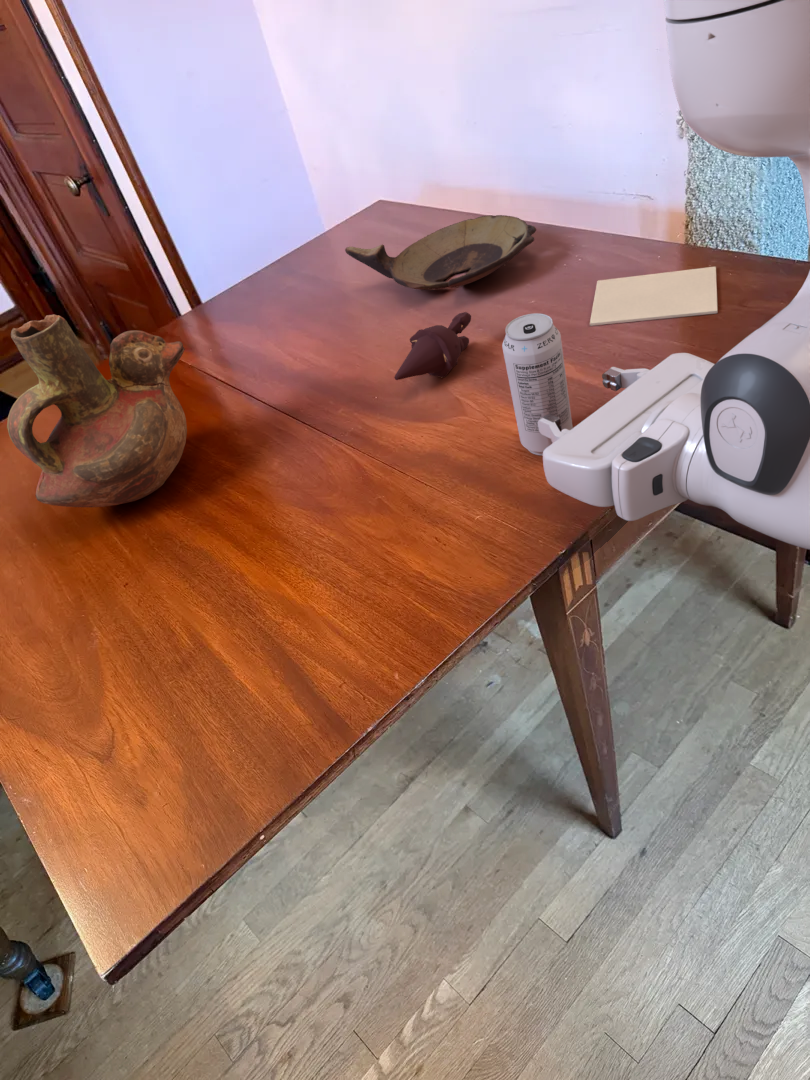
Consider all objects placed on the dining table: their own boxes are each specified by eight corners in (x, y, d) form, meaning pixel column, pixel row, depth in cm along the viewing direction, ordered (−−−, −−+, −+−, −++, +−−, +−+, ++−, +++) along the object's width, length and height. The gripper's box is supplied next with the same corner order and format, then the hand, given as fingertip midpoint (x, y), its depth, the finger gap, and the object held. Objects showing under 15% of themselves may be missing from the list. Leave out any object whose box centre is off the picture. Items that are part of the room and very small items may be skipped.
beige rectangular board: (715, 269, 103) (715, 266, 103) (717, 313, 96) (717, 310, 95) (597, 283, 109) (597, 280, 109) (589, 326, 101) (589, 323, 101)
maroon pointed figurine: (416, 367, 93) (491, 316, 100) (373, 344, 96) (449, 296, 103) (416, 411, 98) (487, 359, 105) (376, 387, 101) (447, 338, 108)
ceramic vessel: (256, 445, 102) (171, 273, 85) (92, 563, 92) (-40, 394, 76) (196, 412, 113) (110, 254, 96) (44, 514, 103) (-80, 357, 87)
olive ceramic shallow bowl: (497, 314, 110) (487, 264, 105) (343, 303, 127) (328, 260, 122) (561, 242, 122) (556, 195, 117) (412, 241, 138) (402, 200, 133)
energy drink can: (570, 421, 88) (554, 305, 78) (577, 452, 83) (562, 333, 73) (519, 431, 89) (497, 318, 79) (523, 463, 84) (501, 347, 74)
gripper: (763, 358, 68) (641, 323, 78) (612, 479, 62) (499, 425, 72) (759, 414, 73) (644, 374, 82) (616, 532, 66) (509, 475, 76)
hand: (575, 398), depth 77 cm, fingers open, 8 cm apart
